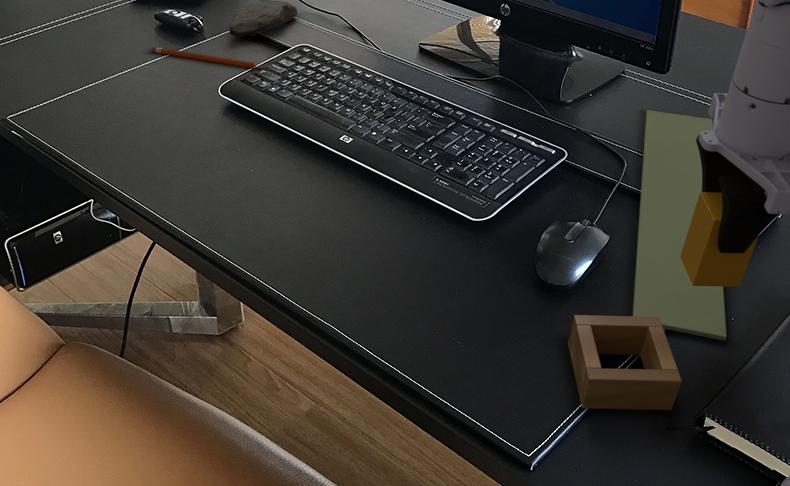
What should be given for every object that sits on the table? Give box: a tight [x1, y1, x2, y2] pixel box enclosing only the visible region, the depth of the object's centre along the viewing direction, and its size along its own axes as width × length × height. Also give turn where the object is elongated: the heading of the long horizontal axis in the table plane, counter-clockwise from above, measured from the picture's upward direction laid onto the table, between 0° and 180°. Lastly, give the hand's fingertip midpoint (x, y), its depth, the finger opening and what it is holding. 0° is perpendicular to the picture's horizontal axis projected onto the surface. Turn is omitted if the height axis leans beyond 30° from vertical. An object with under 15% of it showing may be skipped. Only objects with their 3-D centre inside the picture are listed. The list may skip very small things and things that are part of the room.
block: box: [680, 192, 760, 288], centre depth 66 cm, size 4×4×7 cm
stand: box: [567, 314, 683, 411], centre depth 65 cm, size 7×7×4 cm
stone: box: [228, 0, 298, 38], centre depth 119 cm, size 13×6×5 cm
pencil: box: [151, 46, 259, 69], centre depth 111 cm, size 1×18×1 cm, turn 73°
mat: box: [632, 109, 727, 342], centre depth 85 cm, size 40×8×1 cm, turn 164°
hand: (722, 233), depth 66 cm, fingers closed on block, 4 cm apart
